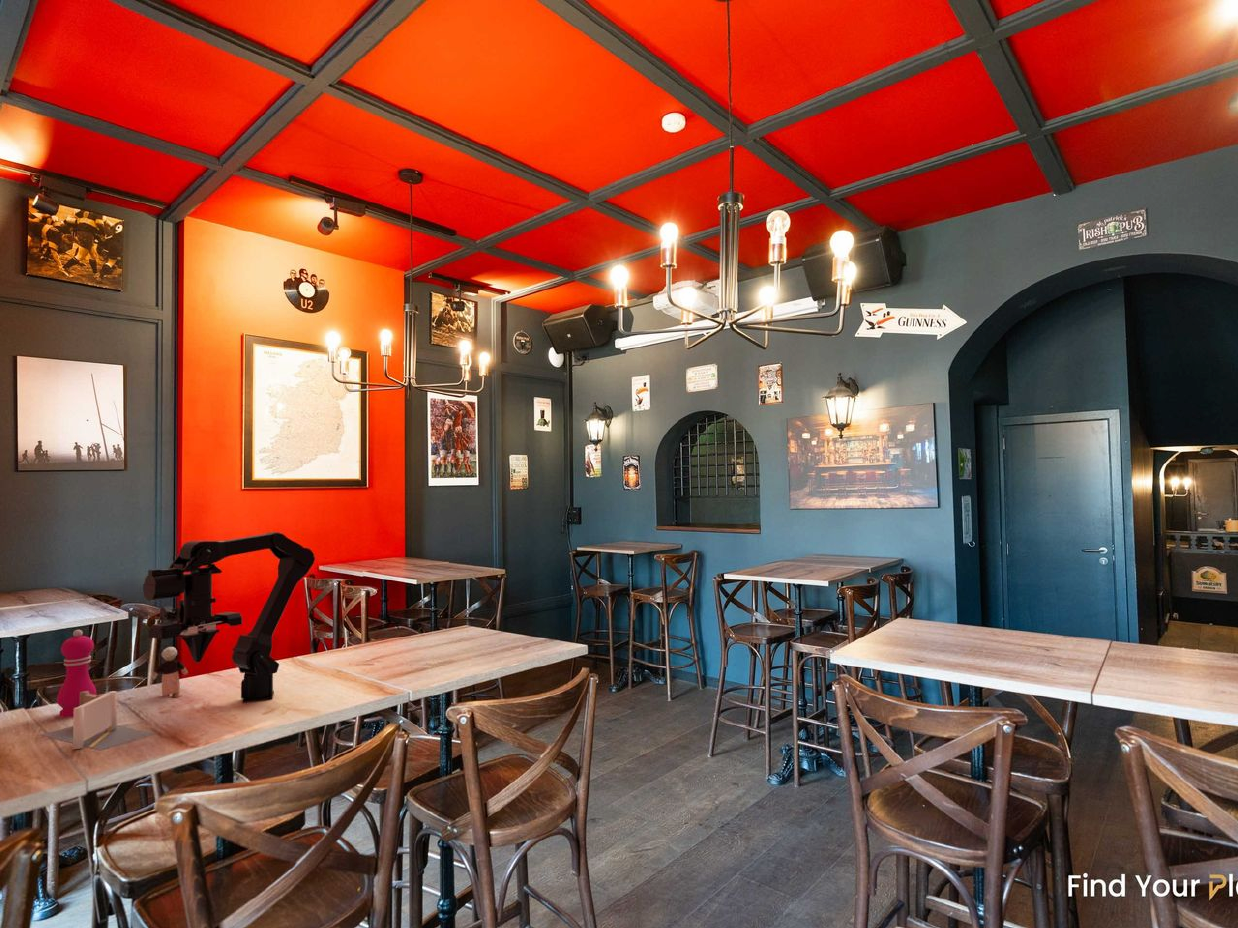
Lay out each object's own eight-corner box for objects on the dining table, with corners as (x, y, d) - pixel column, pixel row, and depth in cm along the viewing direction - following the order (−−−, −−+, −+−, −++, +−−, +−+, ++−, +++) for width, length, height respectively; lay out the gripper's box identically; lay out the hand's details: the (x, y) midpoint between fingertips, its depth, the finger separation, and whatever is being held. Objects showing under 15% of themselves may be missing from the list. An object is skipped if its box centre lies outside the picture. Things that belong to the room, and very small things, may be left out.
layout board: (39, 738, 142) (39, 701, 142) (94, 723, 151) (94, 688, 151) (100, 754, 132) (100, 714, 132) (155, 737, 141) (155, 699, 141)
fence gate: (108, 728, 144) (108, 691, 145) (118, 727, 145) (119, 690, 145) (69, 749, 132) (70, 709, 132) (81, 748, 132) (81, 708, 133)
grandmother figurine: (181, 692, 175) (181, 643, 175) (189, 694, 173) (189, 644, 173) (148, 700, 168) (148, 649, 169) (156, 702, 166) (156, 650, 167)
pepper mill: (91, 709, 162) (92, 625, 163) (100, 714, 157) (101, 628, 158) (53, 717, 156) (54, 630, 157) (60, 723, 152) (62, 634, 153)
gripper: (214, 588, 169) (214, 650, 168) (134, 599, 152) (133, 668, 151) (243, 589, 164) (243, 654, 163) (163, 601, 147) (163, 673, 146)
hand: (197, 662), depth 156 cm, fingers closed
